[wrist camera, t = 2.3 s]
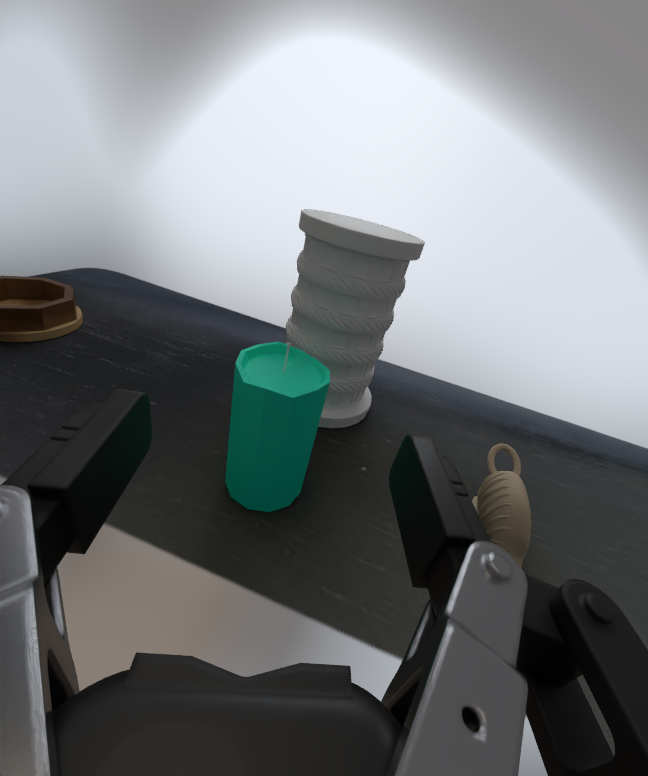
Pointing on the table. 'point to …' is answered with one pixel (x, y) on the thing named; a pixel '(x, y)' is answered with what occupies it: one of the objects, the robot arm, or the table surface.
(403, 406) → the table surface
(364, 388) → the decorative container
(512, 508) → the decorative ornament
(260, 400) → the candle
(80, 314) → the candle pad
